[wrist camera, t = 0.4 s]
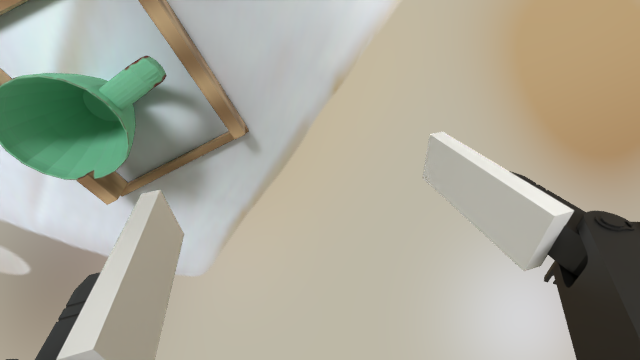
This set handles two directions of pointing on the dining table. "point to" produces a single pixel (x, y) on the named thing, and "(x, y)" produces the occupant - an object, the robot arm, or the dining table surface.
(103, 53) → the dining table surface
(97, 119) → the mug
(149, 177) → the oak frame
